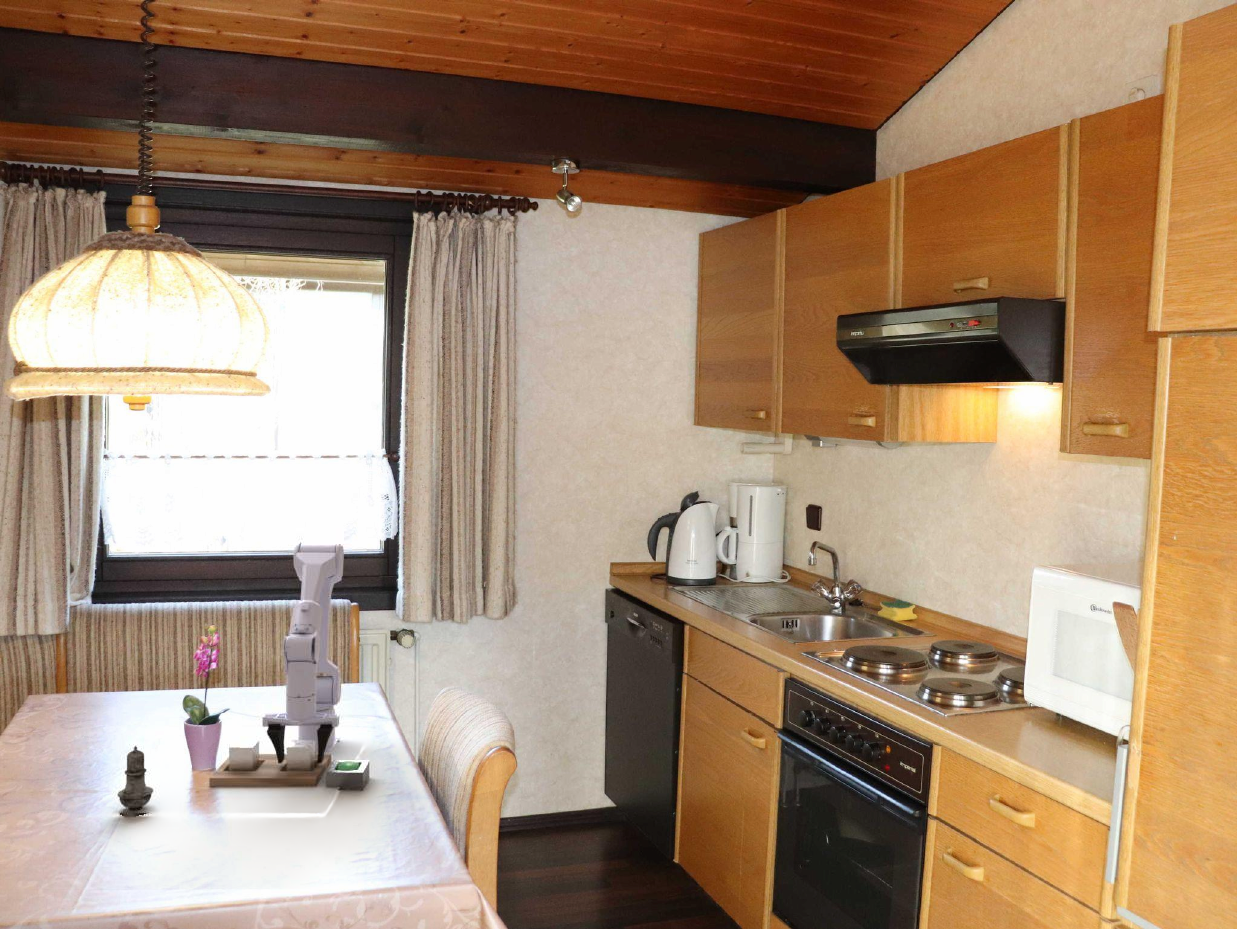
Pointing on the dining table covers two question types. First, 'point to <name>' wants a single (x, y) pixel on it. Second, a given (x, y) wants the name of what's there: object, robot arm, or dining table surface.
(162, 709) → the dining table surface
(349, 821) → the dining table surface
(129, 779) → the salt shaker
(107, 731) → the dining table surface
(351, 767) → the button
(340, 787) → the button box
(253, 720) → the dining table surface
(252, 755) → the block
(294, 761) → the block
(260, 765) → the wooden socket board
